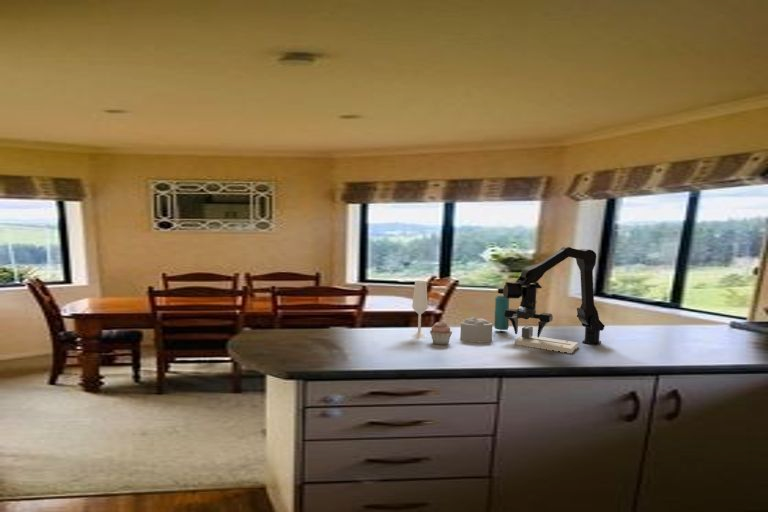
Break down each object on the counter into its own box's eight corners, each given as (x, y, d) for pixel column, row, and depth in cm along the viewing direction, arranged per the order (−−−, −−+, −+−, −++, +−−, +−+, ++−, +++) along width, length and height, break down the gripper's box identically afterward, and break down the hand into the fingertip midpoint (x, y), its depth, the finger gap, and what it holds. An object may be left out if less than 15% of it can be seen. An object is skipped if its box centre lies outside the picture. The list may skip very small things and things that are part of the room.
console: (524, 338, 204) (524, 334, 204) (577, 347, 192) (578, 342, 192) (515, 344, 194) (515, 339, 194) (571, 353, 182) (571, 348, 182)
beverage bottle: (508, 333, 213) (510, 289, 212) (493, 332, 215) (495, 289, 213) (508, 330, 220) (509, 288, 218) (493, 329, 221) (495, 287, 220)
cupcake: (427, 340, 198) (428, 316, 197) (449, 340, 198) (450, 317, 198) (431, 346, 188) (432, 321, 188) (454, 346, 189) (455, 321, 188)
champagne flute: (427, 338, 201) (429, 282, 200) (411, 337, 201) (413, 282, 200) (426, 334, 208) (427, 280, 206) (411, 334, 208) (412, 280, 206)
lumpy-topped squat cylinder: (494, 341, 199) (495, 321, 198) (466, 342, 195) (467, 322, 195) (482, 335, 209) (483, 316, 208) (455, 336, 205) (456, 317, 205)
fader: (525, 335, 200) (525, 325, 200) (532, 336, 198) (532, 326, 198) (521, 337, 196) (522, 327, 196) (528, 338, 194) (529, 328, 194)
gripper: (500, 298, 195) (498, 335, 196) (546, 303, 184) (544, 343, 185) (509, 295, 204) (508, 331, 205) (553, 300, 193) (552, 337, 195)
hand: (527, 335), depth 197 cm, fingers open, 9 cm apart
